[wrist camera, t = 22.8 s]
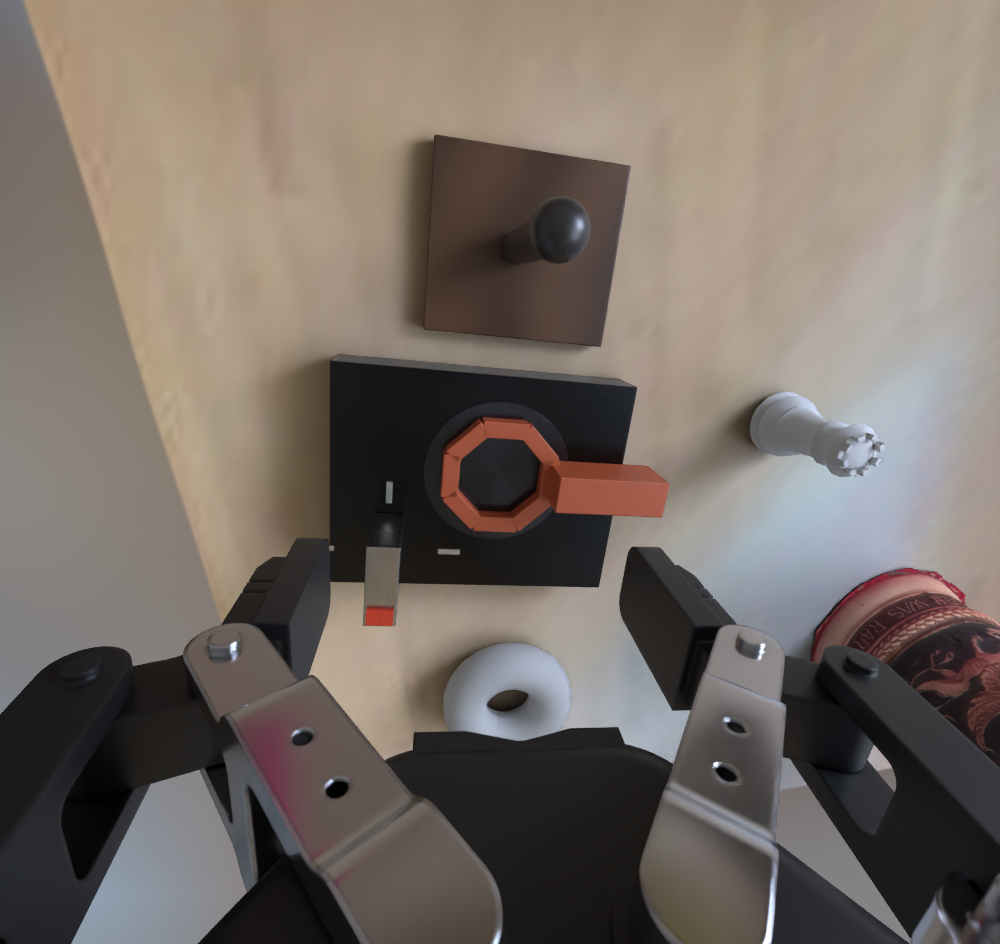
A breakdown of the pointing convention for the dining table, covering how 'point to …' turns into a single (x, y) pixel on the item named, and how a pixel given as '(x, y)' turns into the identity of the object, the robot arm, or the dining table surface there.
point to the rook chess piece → (813, 435)
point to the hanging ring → (551, 482)
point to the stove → (401, 458)
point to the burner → (491, 466)
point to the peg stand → (521, 242)
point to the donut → (508, 672)
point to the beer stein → (927, 646)
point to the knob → (383, 570)
